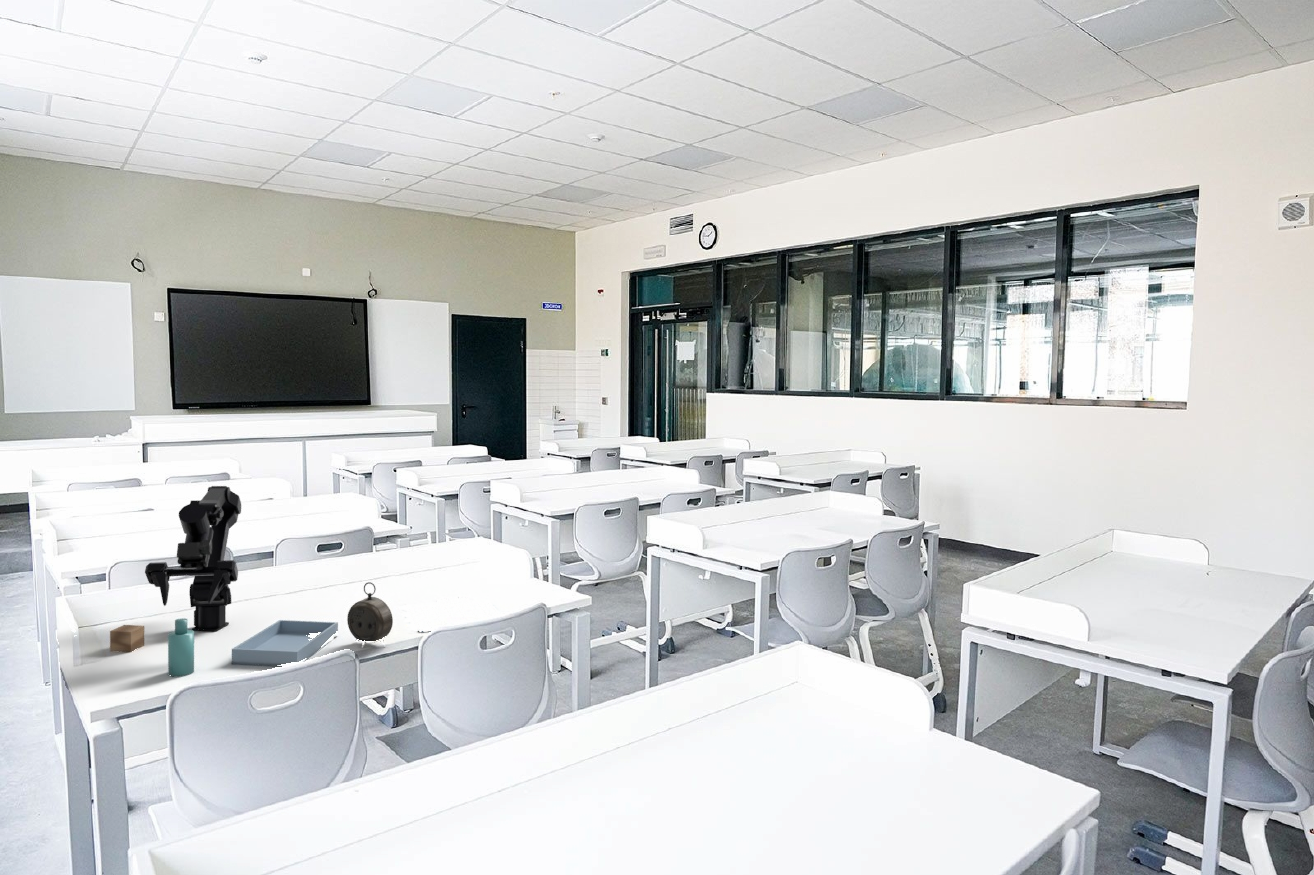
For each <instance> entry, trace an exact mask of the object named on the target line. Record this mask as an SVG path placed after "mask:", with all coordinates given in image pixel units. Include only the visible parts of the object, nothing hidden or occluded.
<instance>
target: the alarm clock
mask: <svg viewBox="0 0 1314 875" xmlns="http://www.w3.org/2000/svg"><path fill="white" fill-rule="evenodd" d="M368 584H369V585H372V587H373V592H369V593H368V592H366V591H367V590H366V586H367V585H368ZM376 590H377V588H376V585H375V584H374V583H373V582H371V581H368V582H366V583H365V584H364V586H363V592H364V593H365V594H366V595H367V597H365V598H363V599H361V600H359V601H357V602H355V603H353V605H351V607H350V608H349V610H348V612H347V619H346V620H347V626H348V629H349V631H350V634H351V635H352V636H353V637H354V638H355V640H357V639H359V640H362V641H364V640H365V641H376V640H378V641H380V640H379V639H382V638H383V637H384V638H386V637H387V636H388V635H389V634H390V632H391V630H392V627H393V623H394V622H393V614H392V611H391V609H390V607H389V606H388V604H386V602H385V601H383V600H382V599H381V598H379V597H376V596H373V595H374V594H375V593H376ZM385 636H386V637H385ZM384 638H383V639H384ZM359 640H358V641H359ZM376 642H377V641H376Z"/></svg>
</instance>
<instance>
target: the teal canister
mask: <svg viewBox="0 0 1314 875" xmlns="http://www.w3.org/2000/svg"><path fill="white" fill-rule="evenodd" d="M167 645H168V646H167V647H168V648H167V651H168V652H167V667H168V668H167V670H168V672H167V675H168V674H169V675H171V676H170V677H172V676H181V677H185V676H189V675H192V674H194V673H195V630H192V629H188V618H185V617H183V618H177V619H175V620H174V631H171V632H169V633H168V634H167ZM169 675H168V676H169Z"/></svg>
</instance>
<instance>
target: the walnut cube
mask: <svg viewBox="0 0 1314 875" xmlns="http://www.w3.org/2000/svg"><path fill="white" fill-rule="evenodd" d="M144 646H145V625H138V624H137V625H136V624H134V625H133V624H122V625H121V626H118V627H116V628H114V629H112V630H109V652H113V651H119V652H120V651H122V652H120V653H132V651H133V652H135V651H136V650H135V649H137V648H139V649H140V648H142V647H144ZM134 650H135V651H134ZM137 650H138V649H137ZM119 652H118V653H119Z"/></svg>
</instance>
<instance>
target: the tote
mask: <svg viewBox="0 0 1314 875" xmlns="http://www.w3.org/2000/svg"><path fill="white" fill-rule="evenodd" d="M336 631H338V632H339V622H336V621H335V622H332V621H311V620H290V619H287V620H286V619H279V620H277V621H276V622H274V623H273V624H271V625H269V626H268V627H265V628H264V629H262V630H261V631H259V632H257V633H256V634H253V636H251V637H249V638H248V639H246V640H244V641H243V642H241V643H240V644H238V645H236V646H234V647H232V648H231V665H236V666H237V665H239V666H240V665H242V666H261V667H262V666H263V667H265V666H266V667H278V666H277V665H281V664H286V663H291V662H299V661H301V660H303V659H305V658H308V657H310V658H311V657H312V656H313V655H315V654H316V653H318V652H319V651H320V650H321V649H320V648H321V646H322V645H323V644H324V643H325V642H326V641H327V640H328V639H329V638H330V637H331V636H332V635H333V634H335V633H336ZM318 632H321V633H320V634H319V635H317V636H316V637H315V638H313V639H312V638H310V637H308V635H310V634H309V633H318ZM306 635H307V636H306ZM308 639H312V640H310V641H309V640H308ZM319 649H320V650H319ZM318 650H319V651H318ZM317 651H318V652H317ZM308 659H309V658H308Z"/></svg>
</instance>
